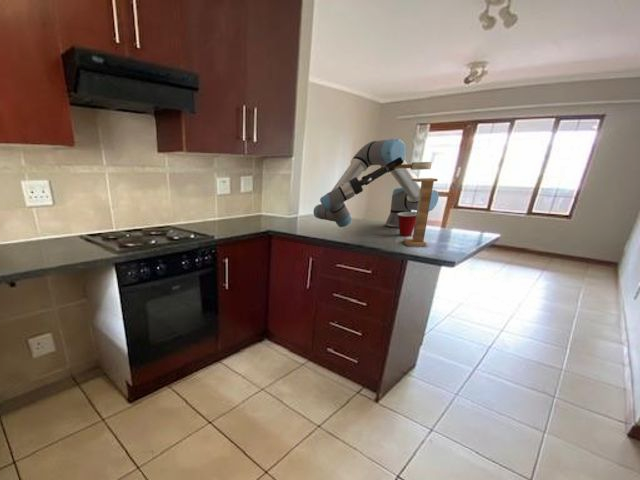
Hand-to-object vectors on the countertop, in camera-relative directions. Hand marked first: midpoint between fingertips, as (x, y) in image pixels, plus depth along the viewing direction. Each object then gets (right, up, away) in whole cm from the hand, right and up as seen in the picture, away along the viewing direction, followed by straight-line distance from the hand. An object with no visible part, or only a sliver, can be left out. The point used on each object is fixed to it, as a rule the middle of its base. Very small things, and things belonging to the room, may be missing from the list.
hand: (401, 159), depth 151 cm
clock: (+3, -4, +1) cm, 5 cm away
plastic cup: (+18, -28, +32) cm, 46 cm away
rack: (+12, -36, +12) cm, 40 cm away
